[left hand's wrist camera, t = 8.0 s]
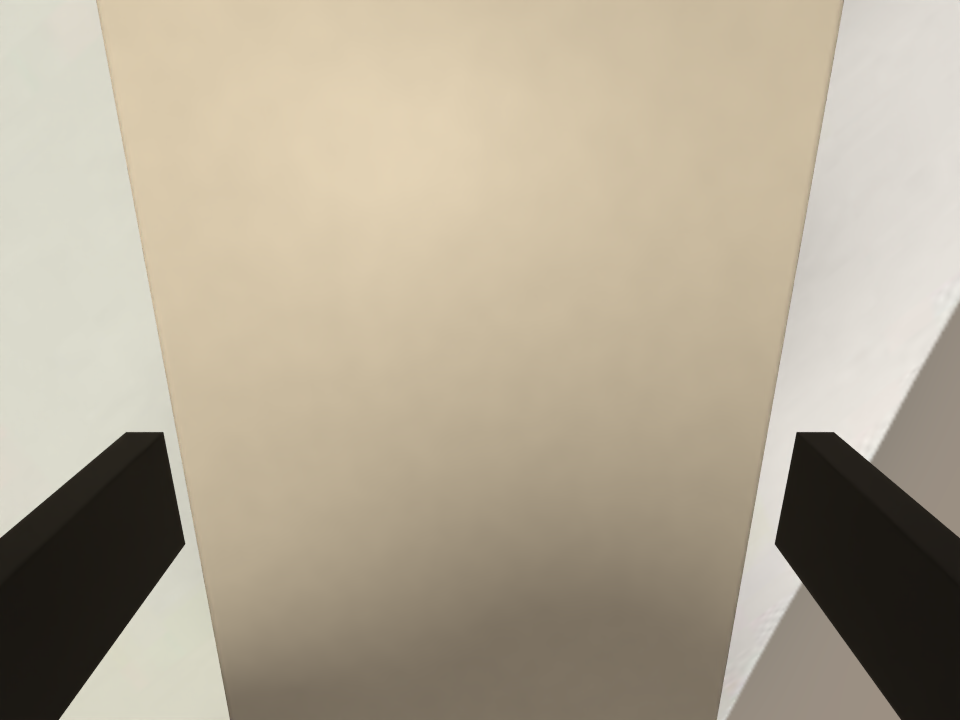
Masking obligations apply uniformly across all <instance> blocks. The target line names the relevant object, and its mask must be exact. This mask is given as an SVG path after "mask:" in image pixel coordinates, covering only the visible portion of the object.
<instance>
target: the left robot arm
mask: <svg viewBox="0 0 960 720" xmlns="http://www.w3.org/2000/svg"><path fill="white" fill-rule="evenodd" d="M184 545H185V540H184V535H183V530H182V525H181V520H180V515H179V510H178V505H177V500H176V495H175V489H174V484H173V479H172V474H171V469H170V464H169V459H168V454H167V449H166V444H165V439H164V433H163V432H126V433H125V434H123V435H122V436H121V437H120V438H119V439H118V440H116V441H115V442H114V443H113V444H112V445H110V446H109V447H108V448H107V449H106V450H104V451H103V452H102V453H101V454H100V455H98V456H97V457H96V458H95V459H94V460H93V461H91V462H90V463H89V464H88V465H87V466H85V467H84V468H83V469H82V470H81V471H79V472H78V473H77V474H76V475H75V476H74V477H72V478H71V479H70V480H69V481H68V482H66V483H65V484H64V485H63V486H62V487H60V488H59V489H58V490H57V491H56V492H55V493H53V494H52V495H51V496H50V497H49V498H47V499H46V500H45V501H44V502H43V503H41V504H40V505H39V506H38V507H37V508H36V509H34V510H33V511H32V512H31V513H30V514H28V515H27V516H26V517H25V518H24V519H22V520H21V521H20V522H19V523H18V524H17V525H15V526H14V527H13V528H12V529H11V530H9V531H8V532H7V533H6V534H5V535H3V536H2V537H1V538H0V720H59V719H60V717H61V716H62V715H63V713H64V712H65V710H66V709H67V708H68V706H69V705H70V703H71V702H72V701H73V699H74V698H75V696H76V695H77V694H78V692H79V691H80V690H81V688H82V687H83V685H84V684H85V683H86V681H87V680H88V678H89V677H90V676H91V674H92V673H93V671H94V670H95V669H96V667H97V666H98V665H99V663H100V662H101V660H102V659H103V658H104V656H105V655H106V653H107V652H108V651H109V649H110V648H111V646H112V645H113V644H114V642H115V641H116V640H117V638H118V637H119V635H120V634H121V633H122V631H123V630H124V628H125V627H126V626H127V624H128V623H129V621H130V620H131V619H132V617H133V616H134V615H135V613H136V612H137V610H138V609H139V608H140V606H141V605H142V603H143V602H144V601H145V599H146V598H147V596H148V595H149V594H150V592H151V591H152V589H153V588H154V587H155V585H156V584H157V583H158V581H159V580H160V578H161V577H162V576H163V574H164V573H165V571H166V570H167V569H168V567H169V566H170V564H171V563H172V562H173V560H174V559H175V558H176V556H177V555H178V553H179V552H180V551H181V549H182V548H183V546H184ZM775 545H776V546H777V548H778V549H779V551H780V552H781V553H782V555H783V556H784V558H785V559H786V560H787V562H788V563H789V565H790V566H791V567H792V569H793V570H794V571H795V573H796V574H797V576H798V577H799V578H800V580H801V581H802V583H803V584H804V585H805V587H806V588H807V589H808V591H809V592H810V594H811V595H812V596H813V598H814V599H815V601H816V602H817V603H818V605H819V606H820V608H821V609H822V610H823V612H824V613H825V615H826V616H827V617H828V619H829V620H830V621H831V623H832V624H833V626H834V627H835V628H836V630H837V631H838V633H839V634H840V635H841V637H842V638H843V640H844V641H845V642H846V644H847V645H848V646H849V648H850V649H851V651H852V652H853V653H854V655H855V656H856V658H857V659H858V660H859V662H860V663H861V665H862V666H863V667H864V669H865V670H866V672H867V673H868V674H869V676H870V677H871V678H872V680H873V681H874V683H875V684H876V685H877V687H878V688H879V690H880V691H881V692H882V694H883V695H884V696H885V698H886V699H887V701H888V702H889V703H890V705H891V706H892V708H893V709H894V710H895V712H896V713H897V715H898V716H899V717H900V719H901V720H960V538H959V537H958V536H956V535H955V534H954V533H953V532H952V531H951V530H949V529H948V528H947V527H946V526H945V525H943V524H942V523H941V522H940V521H939V520H938V519H936V518H935V517H934V516H933V515H932V514H930V513H929V512H928V511H927V510H926V509H924V508H923V507H922V506H921V505H920V504H919V503H917V502H916V501H915V500H914V499H913V498H911V497H910V496H909V495H908V494H907V493H905V492H904V491H903V490H902V489H901V488H900V487H898V486H897V485H896V484H895V483H893V482H892V481H891V480H890V479H889V478H888V477H886V476H885V475H884V474H883V473H882V472H880V471H879V470H878V469H877V468H876V467H874V466H873V465H872V464H871V463H870V462H869V461H867V460H866V459H865V458H864V457H863V456H861V455H860V454H859V453H858V452H857V451H856V450H854V449H853V448H852V447H851V446H850V445H848V444H847V443H846V442H845V441H844V440H842V439H841V438H840V437H839V436H838V435H837V434H835V433H834V432H797V433H796V438H795V443H794V449H793V454H792V459H791V464H790V469H789V474H788V479H787V484H786V489H785V494H784V500H783V505H782V510H781V515H780V520H779V525H778V530H777V535H776V540H775Z"/></svg>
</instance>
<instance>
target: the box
mask: <svg viewBox="0 0 960 720" xmlns="http://www.w3.org/2000/svg"><path fill="white" fill-rule="evenodd" d="M96 2H97V7H98V12H99V18H100V23H101V28H102V34H103V39H104V45H105V50H106V55H107V61H108V66H109V71H110V77H111V82H112V88H113V93H114V98H115V104H116V109H117V114H118V120H119V125H120V131H121V136H122V141H123V147H124V152H125V157H126V163H127V168H128V174H129V179H130V184H131V190H132V195H133V200H134V206H135V211H136V217H137V222H138V227H139V233H140V238H141V243H142V249H143V254H144V260H145V265H146V270H147V276H148V281H149V286H150V292H151V297H152V303H153V308H154V313H155V319H156V324H157V329H158V335H159V340H160V346H161V351H162V356H163V362H164V367H165V372H166V378H167V383H168V388H169V394H170V399H171V405H172V410H173V415H174V421H175V426H176V431H177V437H178V442H179V448H180V453H181V458H182V464H183V469H184V474H185V480H186V485H187V491H188V496H189V501H190V507H191V512H192V517H193V523H194V528H195V534H196V539H197V544H198V550H199V555H200V560H201V566H202V571H203V577H204V582H205V587H206V593H207V598H208V603H209V609H210V614H211V620H212V625H213V630H214V636H215V641H216V646H217V652H218V657H219V663H220V668H221V673H222V679H223V684H224V689H225V695H226V700H227V706H228V711H229V716H230V720H717V714H718V709H719V703H720V697H721V692H722V686H723V680H724V675H725V669H726V664H727V658H728V652H729V647H730V641H731V635H732V630H733V624H734V618H735V613H736V607H737V601H738V596H739V590H740V584H741V579H742V573H743V568H744V562H745V556H746V551H747V545H748V539H749V534H750V528H751V522H752V517H753V511H754V505H755V500H756V494H757V488H758V483H759V477H760V472H761V466H762V460H763V455H764V449H765V443H766V438H767V432H768V426H769V421H770V415H771V409H772V404H773V398H774V392H775V387H776V381H777V376H778V370H779V364H780V359H781V353H782V347H783V342H784V336H785V330H786V325H787V319H788V313H789V308H790V302H791V296H792V291H793V285H794V280H795V274H796V268H797V263H798V257H799V251H800V246H801V240H802V234H803V229H804V223H805V217H806V212H807V206H808V200H809V195H810V189H811V184H812V178H813V172H814V167H815V161H816V155H817V150H818V144H819V138H820V133H821V127H822V121H823V116H824V110H825V104H826V99H827V93H828V88H829V82H830V76H831V71H832V65H833V59H834V54H835V48H836V42H837V37H838V31H839V25H840V20H841V14H842V8H843V3H844V0H96Z"/></svg>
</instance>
